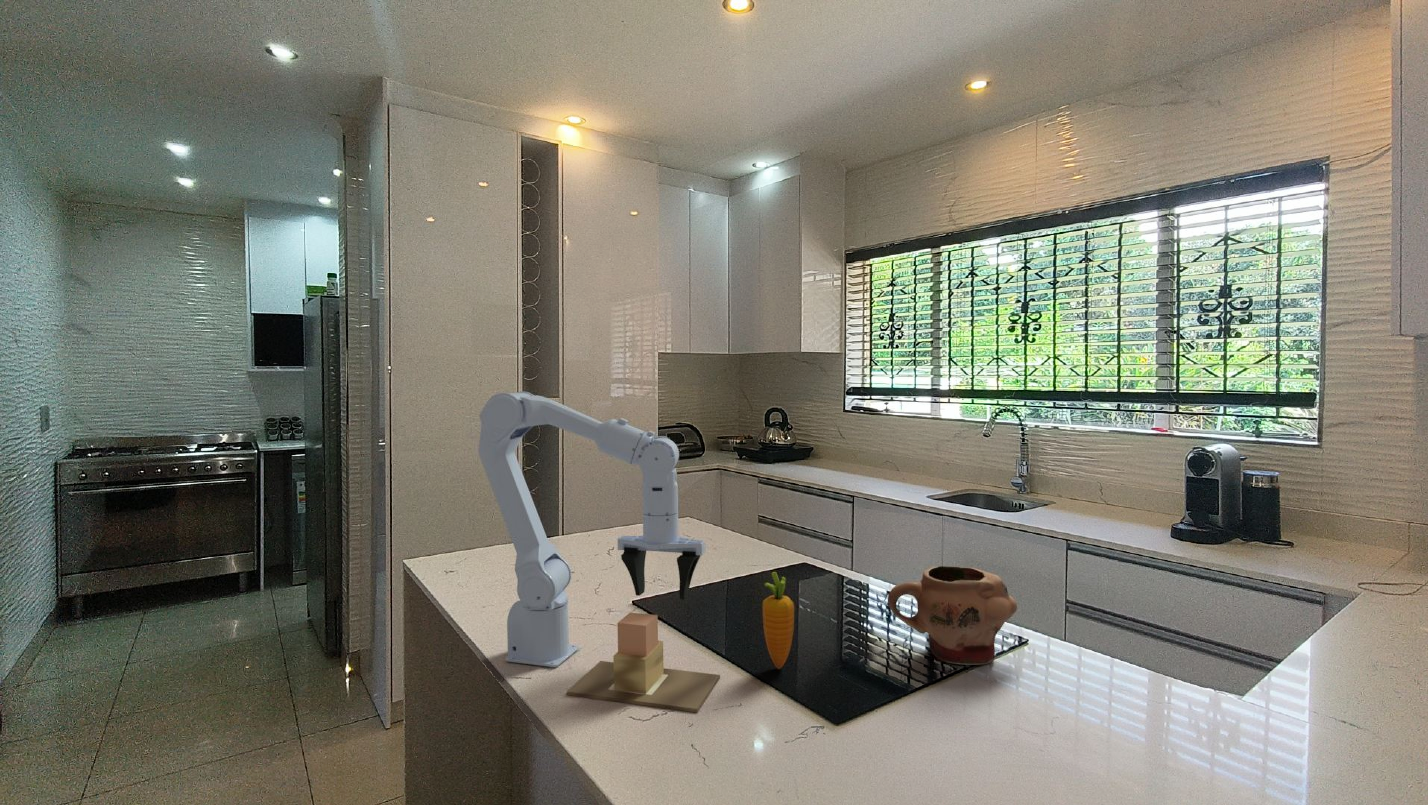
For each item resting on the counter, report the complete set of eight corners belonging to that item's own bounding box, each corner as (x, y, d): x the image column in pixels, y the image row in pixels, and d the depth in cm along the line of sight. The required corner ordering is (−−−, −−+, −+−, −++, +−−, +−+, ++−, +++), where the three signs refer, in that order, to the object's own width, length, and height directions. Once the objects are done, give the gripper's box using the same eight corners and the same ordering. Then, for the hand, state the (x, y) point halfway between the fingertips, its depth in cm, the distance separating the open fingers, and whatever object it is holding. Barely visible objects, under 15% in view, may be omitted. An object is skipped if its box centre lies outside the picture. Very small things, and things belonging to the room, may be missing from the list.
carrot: (793, 677, 104) (792, 579, 103) (761, 674, 105) (759, 578, 104) (796, 663, 109) (795, 570, 108) (765, 661, 110) (764, 569, 109)
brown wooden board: (566, 694, 99) (566, 691, 99) (600, 663, 110) (600, 660, 110) (697, 712, 94) (697, 708, 94) (720, 678, 104) (719, 674, 104)
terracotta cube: (618, 653, 100) (617, 622, 100) (630, 641, 105) (630, 612, 104) (646, 656, 99) (645, 625, 99) (658, 644, 103) (657, 615, 103)
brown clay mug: (898, 672, 105) (898, 583, 105) (881, 641, 117) (880, 561, 117) (1030, 672, 105) (1030, 582, 104) (998, 641, 117) (998, 560, 116)
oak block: (614, 689, 100) (613, 655, 99) (633, 669, 106) (632, 637, 106) (645, 693, 98) (645, 659, 98) (663, 673, 105) (663, 641, 105)
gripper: (608, 515, 109) (610, 599, 109) (695, 519, 105) (696, 607, 105) (626, 507, 116) (628, 586, 116) (708, 510, 111) (710, 593, 112)
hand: (661, 595), depth 111 cm, fingers open, 7 cm apart
